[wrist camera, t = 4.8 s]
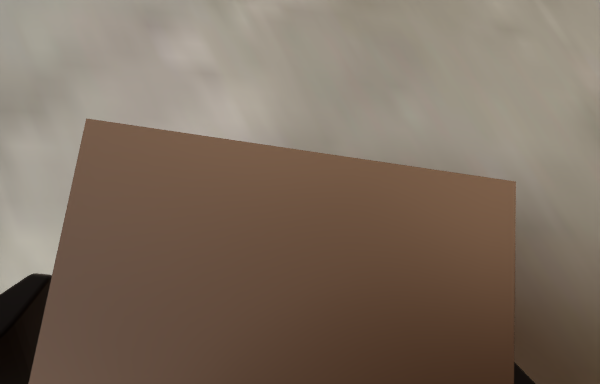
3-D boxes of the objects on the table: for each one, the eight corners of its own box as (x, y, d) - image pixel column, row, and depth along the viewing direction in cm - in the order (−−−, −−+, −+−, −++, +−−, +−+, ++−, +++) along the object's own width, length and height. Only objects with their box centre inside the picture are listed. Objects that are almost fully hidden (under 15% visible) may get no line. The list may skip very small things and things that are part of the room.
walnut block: (305, 369, 17) (511, 673, 4) (177, 359, 16) (-36, 675, 4) (318, 244, 18) (515, 181, 5) (197, 229, 17) (87, 118, 5)
